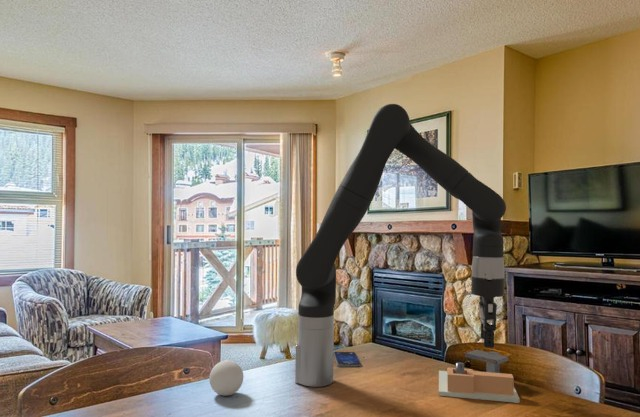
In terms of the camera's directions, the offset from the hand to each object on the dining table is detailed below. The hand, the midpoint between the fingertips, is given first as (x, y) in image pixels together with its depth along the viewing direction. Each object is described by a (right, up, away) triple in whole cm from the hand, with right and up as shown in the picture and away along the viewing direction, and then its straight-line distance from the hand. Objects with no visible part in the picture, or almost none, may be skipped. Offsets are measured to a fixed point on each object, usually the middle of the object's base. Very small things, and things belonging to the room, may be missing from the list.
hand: (487, 342), depth 115 cm
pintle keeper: (+1, -13, +6) cm, 14 cm away
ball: (-63, -12, -2) cm, 64 cm away
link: (-2, -11, 0) cm, 12 cm away
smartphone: (-32, -14, +29) cm, 45 cm away
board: (-1, -13, +5) cm, 14 cm away
